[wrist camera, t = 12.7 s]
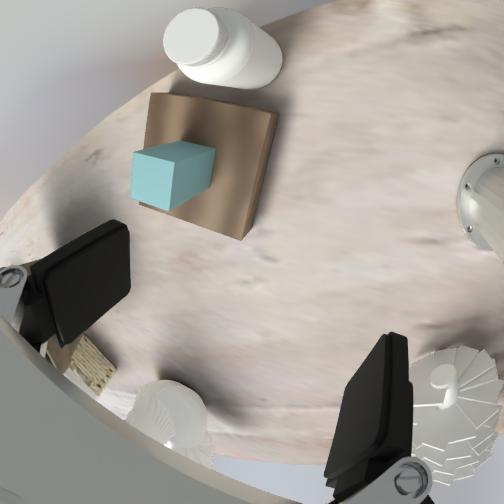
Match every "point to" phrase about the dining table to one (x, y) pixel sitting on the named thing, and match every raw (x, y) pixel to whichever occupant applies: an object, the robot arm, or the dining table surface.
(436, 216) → the dining table surface
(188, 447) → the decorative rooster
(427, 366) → the spiral staircase
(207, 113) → the wavy brown panel
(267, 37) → the pill bottle
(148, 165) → the teal carton
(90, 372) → the storage basket
